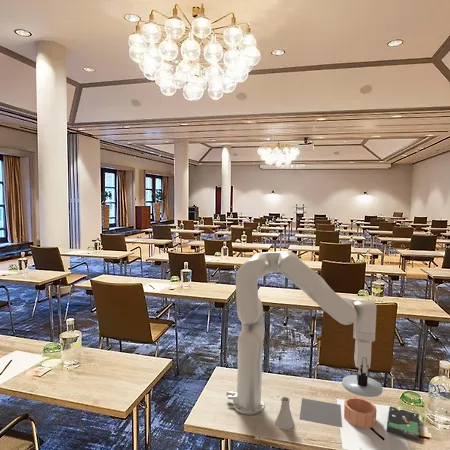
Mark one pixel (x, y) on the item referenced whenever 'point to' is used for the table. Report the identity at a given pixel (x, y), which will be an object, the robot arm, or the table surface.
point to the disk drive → (403, 423)
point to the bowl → (354, 410)
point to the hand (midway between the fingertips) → (361, 382)
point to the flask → (285, 415)
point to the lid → (367, 391)
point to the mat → (321, 412)
